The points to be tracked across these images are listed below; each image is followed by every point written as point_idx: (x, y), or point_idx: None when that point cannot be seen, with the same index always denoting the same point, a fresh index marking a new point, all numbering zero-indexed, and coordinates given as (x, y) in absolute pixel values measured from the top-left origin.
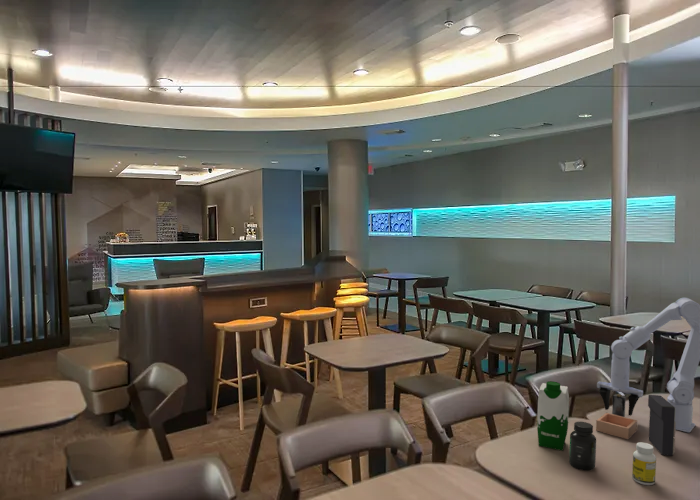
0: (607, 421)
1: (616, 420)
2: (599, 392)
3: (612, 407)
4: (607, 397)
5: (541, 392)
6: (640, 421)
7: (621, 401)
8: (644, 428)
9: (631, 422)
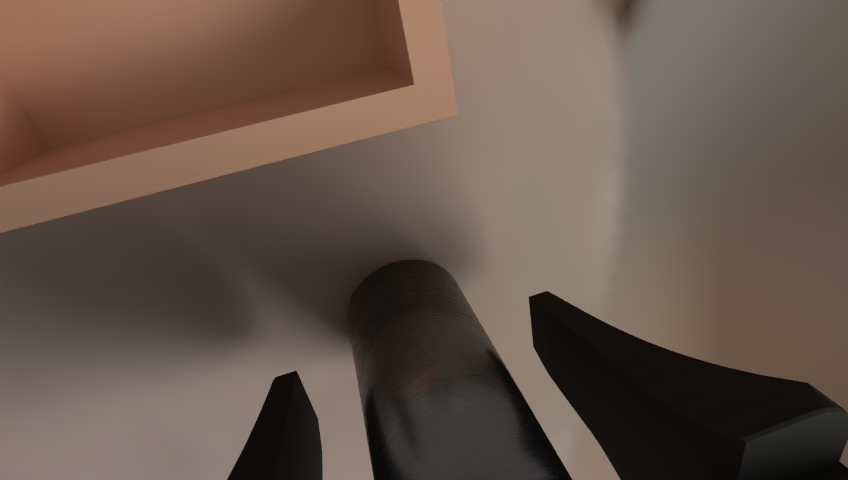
0: (388, 60)
1: (276, 102)
2: (803, 384)
3: (492, 345)
4: (626, 419)
5: None
6: (250, 424)
7: (401, 469)
8: (78, 320)
9: (41, 168)
